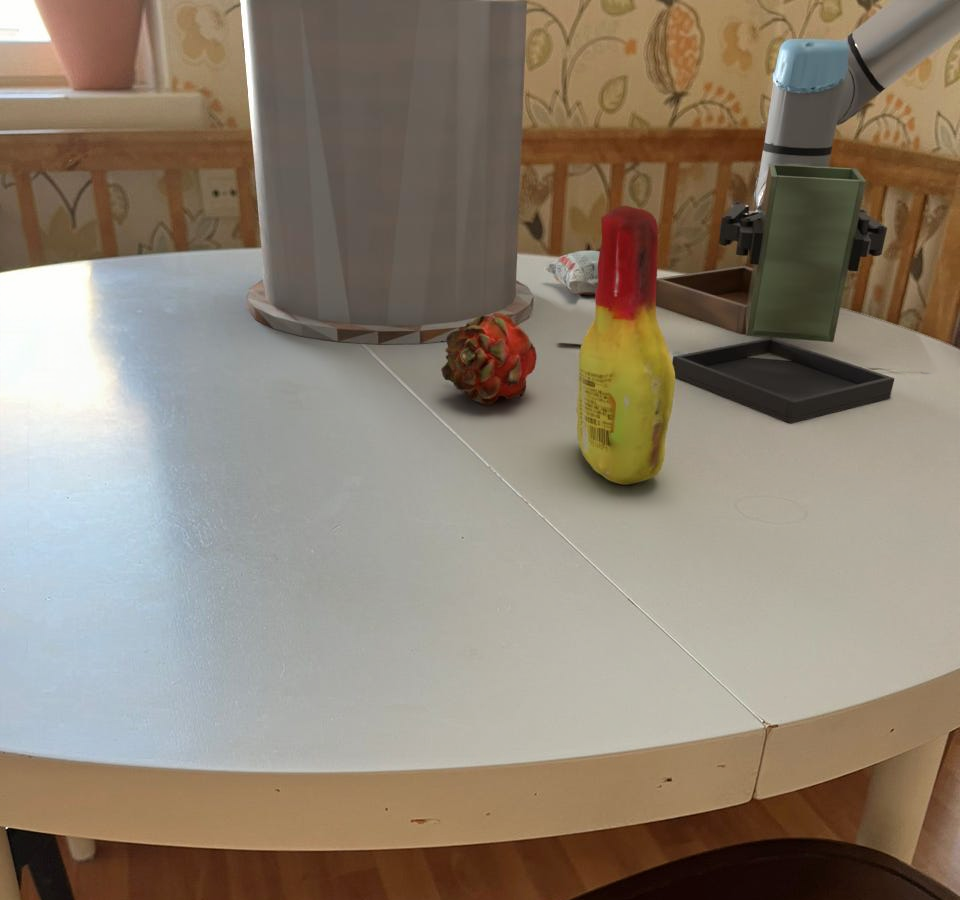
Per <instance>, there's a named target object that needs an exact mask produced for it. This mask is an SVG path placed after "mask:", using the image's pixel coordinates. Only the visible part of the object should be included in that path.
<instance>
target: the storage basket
mask: <svg viewBox="0 0 960 900" xmlns="http://www.w3.org/2000/svg"><path fill="white" fill-rule="evenodd" d="M527 11H528V1H527V0H240V12H241V22H242V23H241V24H242V35H243V46H244V58H245V59H244V60H245V71H246V82H247V92H248V95H247V96H248V106H249V117H250V118H249V119H250V130H251V140H252V141H251V142H252V152H253V153H252V154H253V165H254V175H255V176H254V177H255V188H256V200H257V211H258V223H259V224H258V225H259V236H260V247H261V258H262V272H263V279H260V280H259V281H258V282H256V283H255V284H253V285H252V286H251V287H249V288H248V292H247V295H246V303H247V304H246V305H247V311H248V312H249V313H250V315H251V316H252V317H253V318H254V320H256V321H258V322H260V323H261V324H264V325H266V326H267V327H270V328H272V329H274V330H277V331H281V332H285V333H289V334H292V335H295V336H300V337H305V338H311V339H317V340H318V339H319V340H325V341H330V342H337V343H353V344H354V343H355V344H368V345H369V344H370V345H421V344H422V345H423V344H432V343H442V342H441V341H444V342H446V338H447V336H448V335H449V334H450V333H451V332H454V331H458V330H465V326H466V325H467V323H469V322H471V321H473V320H474V319H476V318H479V317H481V316H485V317H487V318H489V317H490V316H491V315H492V314H494V313H502V314H504V315H506V316H508V317H510V318H511V319H512V321H513V322H514V323H515V324H516V325H517V326H518V325H519V324H521V323H522V322H523V321H525V320H527V319H528V318H530V316H531V313H532V311H533V308H534V294H533V293H532V290H531V289H530V288H529V287H528V285H526V284H524V283H522V282H520V281H519V280H517V270H518V246H519V245H518V244H519V223H520V222H519V221H520V220H519V219H520V197H521V195H520V193H521V167H522V165H521V164H522V141H523V118H524V117H523V116H524V93H525V92H524V90H525V65H526V42H527V41H526V40H527V39H526V38H527V15H528V14H527Z"/></svg>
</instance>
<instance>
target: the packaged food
mask: <svg viewBox="0 0 960 900" xmlns="http://www.w3.org/2000/svg"><path fill="white" fill-rule="evenodd" d="M599 254H600V250H580V251H575V252H571V253H567V254H565V255H561V256H560V257H558V258H557V259H555V261H552V262H549V263H548V264H547V265H546V266H545V267H544V270H545V271H547V272H549V273H551V274H552V275H553V278H554V279H555V280H556V281H557V282H558V283H560V284H561V285H563V286H565V287H566V288H567V289H568V291H570V292H572V293H573V294H576V295H578V296H579V295H581V296H595V294H596V289H597V284H598V260H599Z"/></svg>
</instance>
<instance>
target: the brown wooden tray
mask: <svg viewBox="0 0 960 900" xmlns="http://www.w3.org/2000/svg"><path fill="white" fill-rule="evenodd" d="M752 270H753V267H749V266H746V265H740V266H734V267H733V266H732V267H725V268H719V269H712V270H706V271H704V270H703V271H698V272H692V273H691V272H690V273H684V274H678V275H677V274H676V275H670V276H663V277H657V282H656V307H659V308H661V309H665V310H668V311H670V312H673V313H676V314H680V315H683V316H685V317H687V318H691V319H694V320H696V321H697V320H698V321H700V322H703V323H706V324H709V325H713V326H715V327H718V328H721V329H724V330H727V331H729V332H733V333H736V334H739V335H746V308H747V301H748V295H749V289H750V282H751V276H752Z"/></svg>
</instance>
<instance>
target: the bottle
mask: <svg viewBox="0 0 960 900" xmlns="http://www.w3.org/2000/svg"><path fill="white" fill-rule="evenodd" d="M600 223H601V243H600V244H601V245H600V249H599V251H600V254H599V260H598V284H597V289H596V294H595V295H594V297H595V313H594V320H593V322H592V324H591V325H590V326H589V328H588V329H587V332H586V334H585V336H584V338H583V341H582V343H581V346H580V349H579V357H578V393H577V394H578V395H577V405H576V415H577V424H576V431H577V432H576V434H577V435H576V436H577V441H578V445H579V448H580V452H581V454H582V456H583V457H584V459H585V461H586V462H587V463H588V464H589V466H590V467H591V468H592V469H593V471H595V473H597V474H599V475H601V476H602V477H604V478H605V479H606V480H607V481H610V482H612V483H615V484H619V485H622V486H623V485H625V486H627V485H628V486H629V485H632V484H637V483H640V482H641V483H642V482H644V481H647V480H649V479H652V478H654V477H655V476H657V475H658V474H659V473H660V472H661V470H662V467H663V465H664V461H665V454H666V437H667V433H668V428H669V423H670V418H671V414H672V411H673V404H674V397H675V387H676V377H675V371H674V367H673V364H672V361H673V360H672V358H671V355H670V352H669V349H668V347H667V344H666V340H665V338H664V334H663V332H662V330H661V328H660V325H659V321H658V319H657V306H656V282H657V278H658V249H659V227H658V222H657V218H655V216H654V215H653V214H652V213H651V212H650V211H648V210H645V209H642V208H638V207H634V206H633V207H632V206H629V205H620V206H619V205H618V206H617V207H614V208H612V209H611V210H609V212H607V213H606V214H604V215H603V216H602V217H601V221H600Z"/></svg>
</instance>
